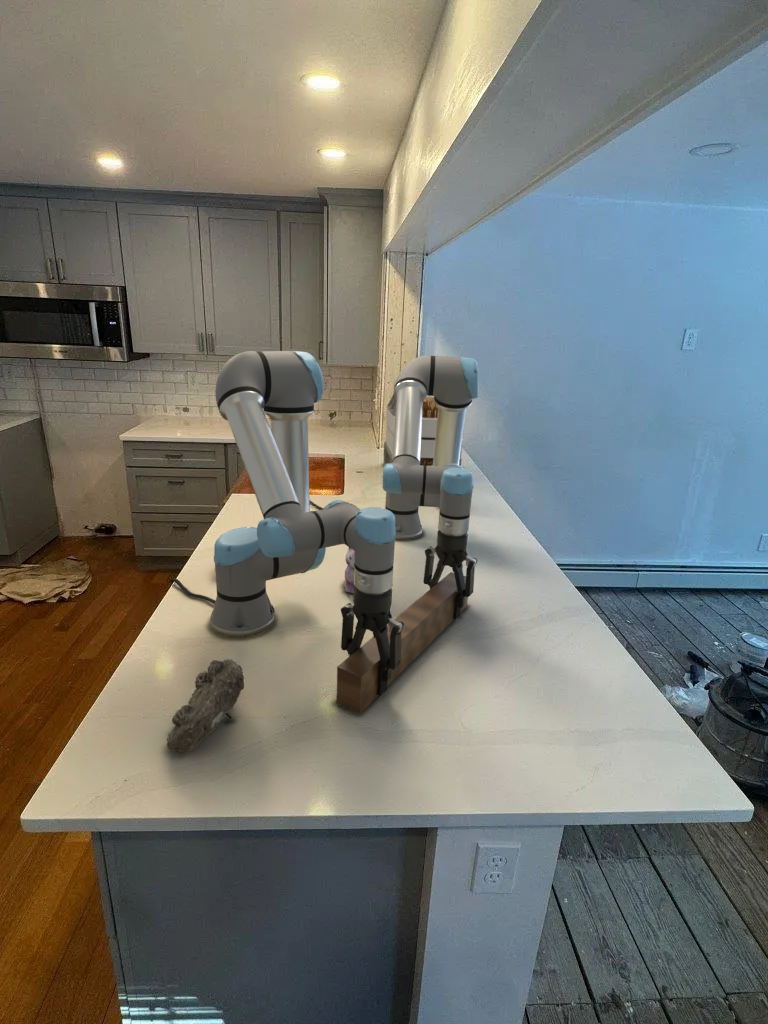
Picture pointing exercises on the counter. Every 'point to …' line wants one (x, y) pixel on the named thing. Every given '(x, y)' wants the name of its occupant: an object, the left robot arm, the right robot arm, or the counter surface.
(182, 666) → the counter surface
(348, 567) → the figurine
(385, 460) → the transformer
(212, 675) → the fossil
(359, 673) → the beam
